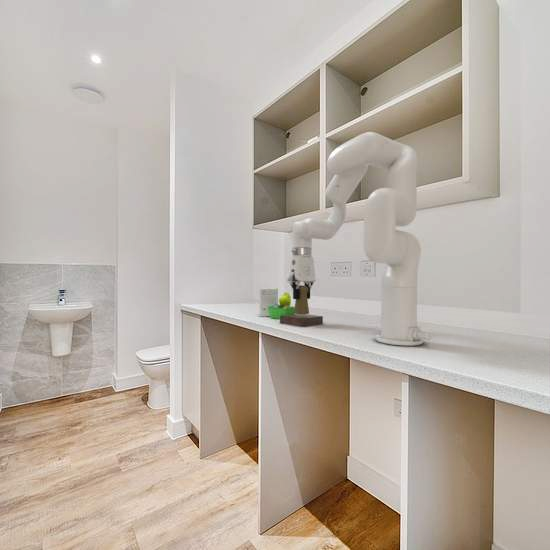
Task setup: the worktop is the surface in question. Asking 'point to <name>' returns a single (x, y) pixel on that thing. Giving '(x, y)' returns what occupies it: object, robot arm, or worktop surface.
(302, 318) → the block
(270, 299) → the small box
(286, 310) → the fruit basket
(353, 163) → the robot arm
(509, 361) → the worktop surface
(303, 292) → the olive tapered cylinder
